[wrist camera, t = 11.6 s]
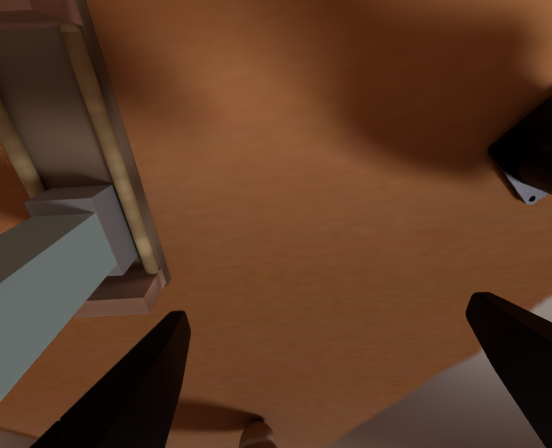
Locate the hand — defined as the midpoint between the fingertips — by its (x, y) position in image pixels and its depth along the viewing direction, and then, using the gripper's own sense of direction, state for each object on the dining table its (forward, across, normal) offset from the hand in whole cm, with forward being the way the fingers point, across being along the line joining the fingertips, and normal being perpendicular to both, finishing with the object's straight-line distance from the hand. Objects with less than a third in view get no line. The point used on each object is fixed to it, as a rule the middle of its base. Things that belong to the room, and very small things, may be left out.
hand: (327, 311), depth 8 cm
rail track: (+13, +15, -1) cm, 20 cm away
